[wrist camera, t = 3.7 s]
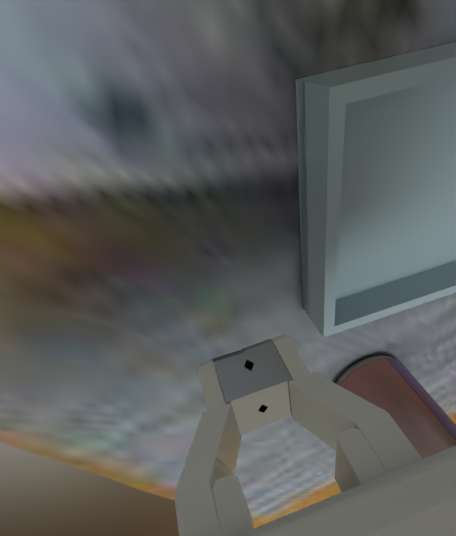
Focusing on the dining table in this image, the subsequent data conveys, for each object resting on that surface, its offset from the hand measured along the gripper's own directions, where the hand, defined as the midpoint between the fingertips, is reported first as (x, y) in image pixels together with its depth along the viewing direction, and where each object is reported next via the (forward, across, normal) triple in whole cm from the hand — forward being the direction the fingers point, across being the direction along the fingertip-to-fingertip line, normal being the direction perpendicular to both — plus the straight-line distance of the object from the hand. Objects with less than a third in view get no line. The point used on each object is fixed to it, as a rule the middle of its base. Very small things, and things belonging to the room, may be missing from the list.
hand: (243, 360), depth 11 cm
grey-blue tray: (+6, -14, -1) cm, 16 cm away
